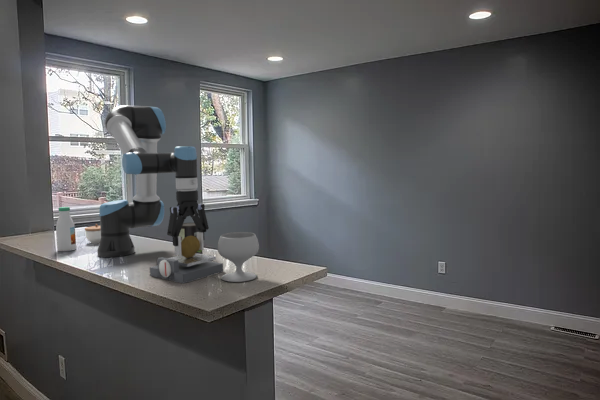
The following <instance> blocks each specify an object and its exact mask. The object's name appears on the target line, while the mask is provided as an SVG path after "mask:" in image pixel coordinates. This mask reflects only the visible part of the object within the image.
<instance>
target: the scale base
mask: <svg viewBox="0 0 600 400" xmlns="http://www.w3.org/2000/svg"><path fill="white" fill-rule="evenodd" d="M169 258H170V257H163V256H161V257H158V258H156V261H157V265H154V266H150V267H149V276H151V277H155V278H159V279H162V280H163V279H164V280H167V281H172V282H175V283H180V284H186V283H189V282H190V283H191V282H193V281H196V280H199V279H202V278H203V279H204V278H207V277H210V276H213V275H217V274H220V273H222V272H224V263H223V262H216V261H213V260H212V261H207V262H204V263H200V264H196V265H192V266H188V267H186V266H181V265H179V261H178V260H174V259H169Z"/></svg>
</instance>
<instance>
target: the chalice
mask: <svg viewBox="0 0 600 400" xmlns="http://www.w3.org/2000/svg"><path fill="white" fill-rule="evenodd" d="M259 250H260V244H259V239H258V237H257V235H256V233H254V232H250V231H235V232H225V233H223V234H221V235H220V237H219V239H218V243H217V252H218V254H219V256H220V257H222V258H223V259H226V260H228V261H230V263H231V262H232V263H233V264H234V266H235V268H236V269H235V271H234V272H230V273H229V272H228V273H226V274H224V275H222V276H221V277H220V279H221V280H222V281H225V282H229V283H241V282H242V283H243V282H249V281H252V280H255V279H256V278H258V275H257V274H256V273H254V272H250V271H243V269H242V268H243V265H244V263H245V262H247V261H248V260H250V259H251V258H252V257H255V255H257V254H258V252H259Z"/></svg>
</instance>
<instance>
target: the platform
mask: <svg viewBox="0 0 600 400" xmlns="http://www.w3.org/2000/svg"><path fill="white" fill-rule="evenodd" d="M210 255H211V254H198V253H196V254H195V255H194V256H193V257H191V258H185V257H184V256H182V255H179V256H178V255H175V256H172V257H168V258H169V259H174V260H178V261H179V265H181V266H186V267H188V266H192V265H196V264H200V263H204V262H207V261H211V260H212V261H215V260H217V257H216V256H215V255H212V256H210Z"/></svg>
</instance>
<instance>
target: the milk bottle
mask: <svg viewBox="0 0 600 400" xmlns="http://www.w3.org/2000/svg"><path fill="white" fill-rule="evenodd" d="M70 208H71V207H70V206H63V207H58V213H59V215H58V219H57V220H56V222H55V223H56V224H55V232H56V246H57V251H58V252H69V251H74V250H76V249H77V241H76V239H77V238H76V228H75V227H76V226H75V225H76V224H75V222H74V219H73V218H72V217H71V214H70V213H71V209H70Z"/></svg>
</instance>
